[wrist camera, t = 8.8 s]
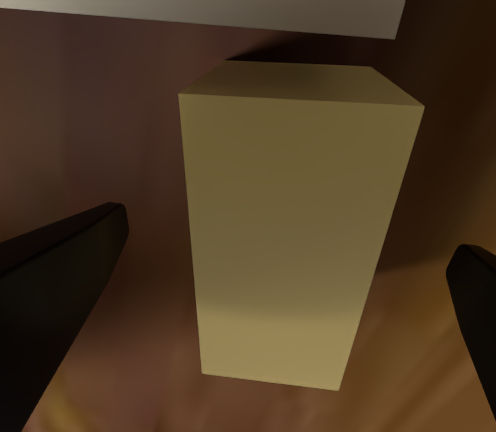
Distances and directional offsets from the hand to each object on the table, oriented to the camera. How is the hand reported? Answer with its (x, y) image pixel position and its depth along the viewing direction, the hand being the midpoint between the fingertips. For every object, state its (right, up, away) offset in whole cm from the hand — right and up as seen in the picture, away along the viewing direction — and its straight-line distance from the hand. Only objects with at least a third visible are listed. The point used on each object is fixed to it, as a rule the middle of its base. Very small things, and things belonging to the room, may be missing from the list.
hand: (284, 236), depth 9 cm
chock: (0, +1, +2) cm, 3 cm away
